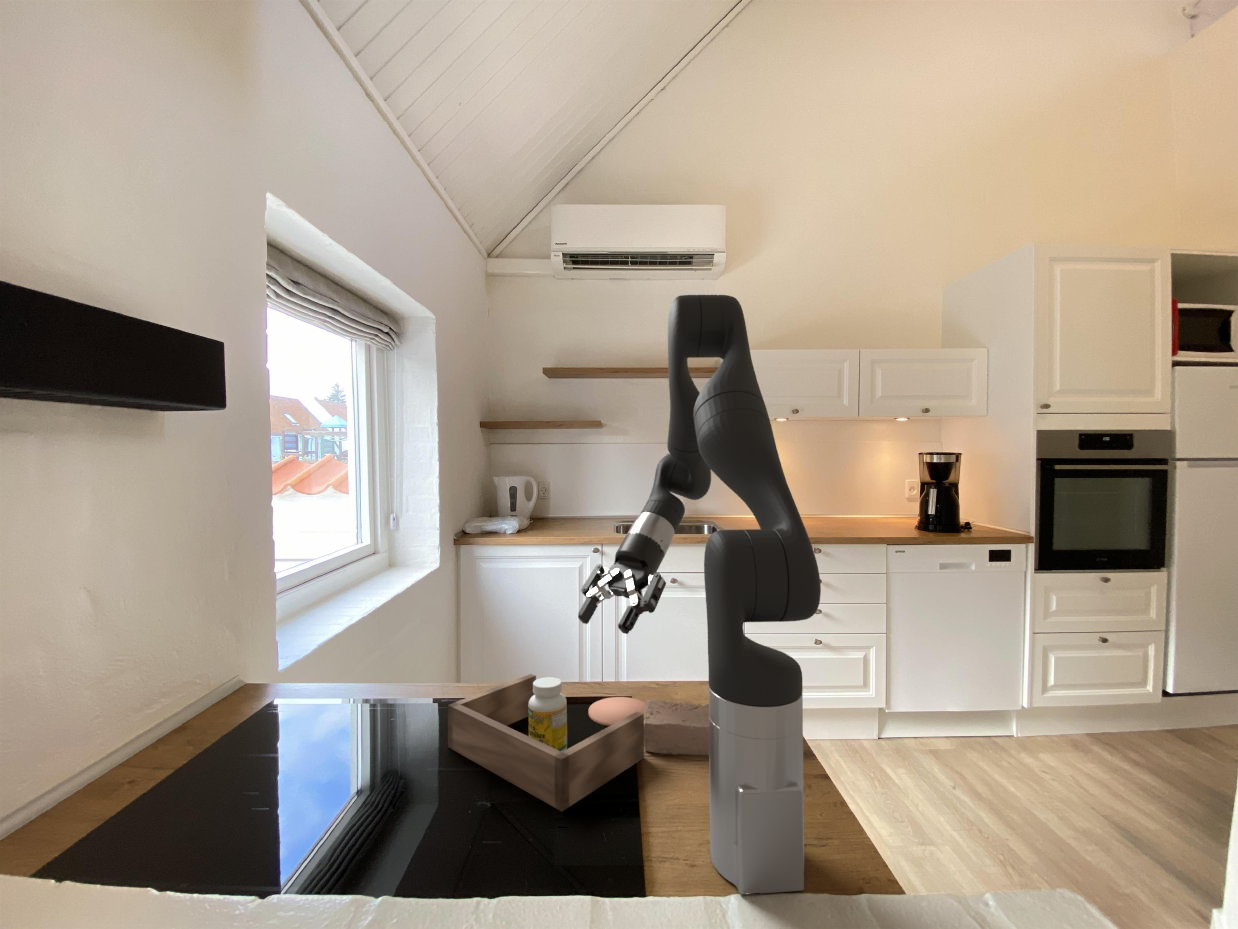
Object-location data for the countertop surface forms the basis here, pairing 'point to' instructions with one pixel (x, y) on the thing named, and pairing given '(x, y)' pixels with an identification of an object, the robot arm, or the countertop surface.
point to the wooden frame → (539, 746)
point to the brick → (676, 727)
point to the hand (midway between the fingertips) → (601, 625)
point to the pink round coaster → (614, 709)
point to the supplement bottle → (548, 713)
